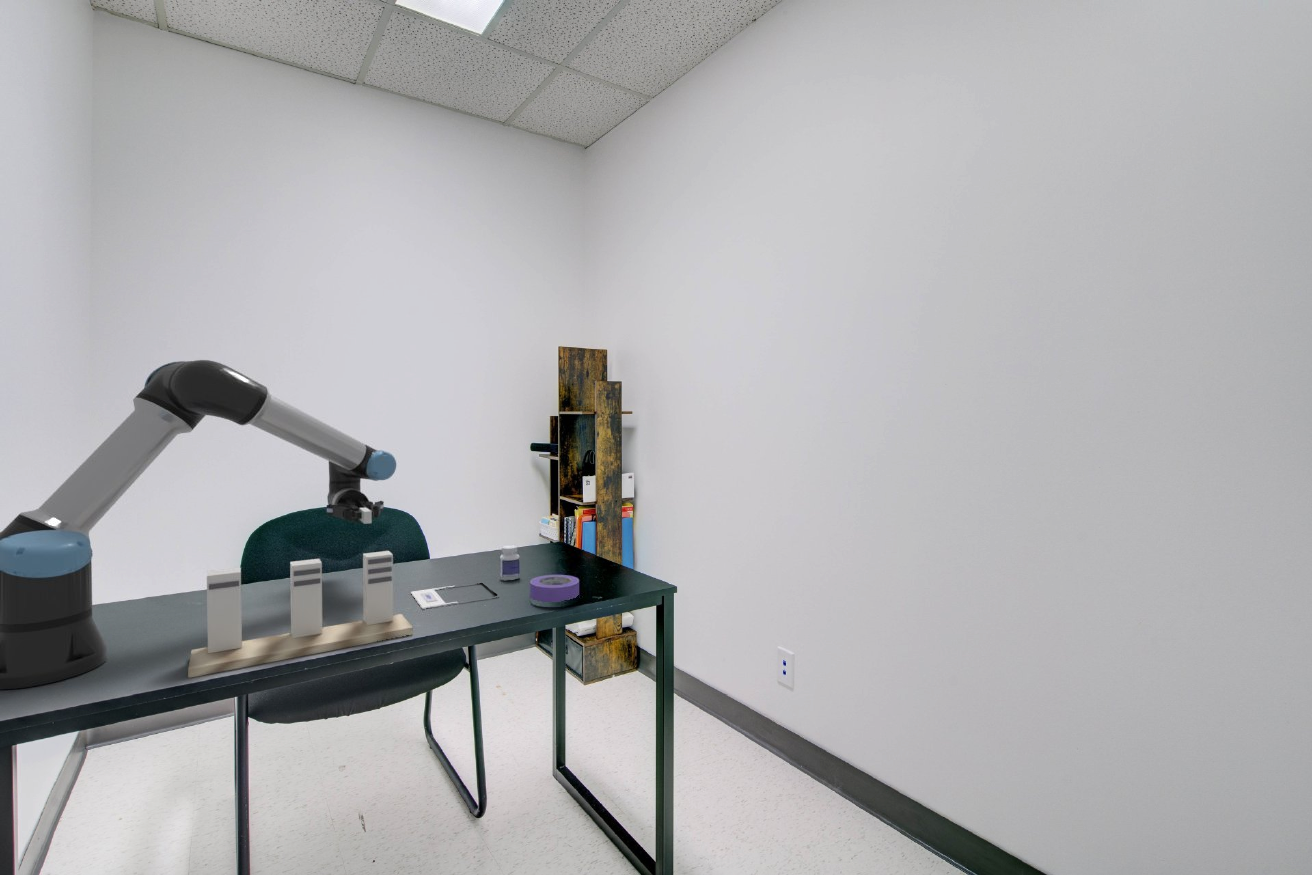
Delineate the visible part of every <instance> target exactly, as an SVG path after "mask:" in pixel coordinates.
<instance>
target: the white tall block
mask: <svg viewBox="0 0 1312 875" xmlns="http://www.w3.org/2000/svg"><path fill="white" fill-rule="evenodd" d="M289 564H290V565H289V568H290V569H289V571H290V575H289V577H290V580H289V581H290V633H291V634H292V638H299V637H305V636H310V635H316V634H322V627H323V573H322V572H323V569H322V568H323V563H322V561H321V558H314V559H313V558H311V559H304V560H295V561H290V562H289Z"/></svg>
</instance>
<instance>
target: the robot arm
mask: <svg viewBox="0 0 1312 875" xmlns="http://www.w3.org/2000/svg"><path fill="white" fill-rule="evenodd" d="M143 386H144V388H142V389H141V391H140V392H139V393H138V394H136V396H135V397H134V398H133V399H132V402H133V406H134V410H133V411H132V412H131V413H130V415H128V417H126V418H125V420H124V421H122V422H121V423H120V425H118V426H117V428H115V429H114V430H113V431H112V432H111V434H110V435H109V436H108V437H107V438H106V439H104V441H103V442H102V443H101V444H100V445H99V446H98V447H97V448H96V449H95V450H94V451H93V452H92V453H91V455H89V457H87V458H86V459H85V460H84V462H82V464H81V465H79V466H78V467H77V468H76V470H75V471H73V473H72V474H71V475H70V476H69V477H68V478H67V479H66V480H65V481H63V483H62V484H60V486H59V487H58V488H57V489H56V490H55V491H54V492H53V493H52V494H51V495H50V496H49V497H48V498H46V500H45V501H44V503H42V504H41V505H40V506H39V507H38V508H36V509H34V510H29V511H24V512H20V513H19V514H18V515H16V517H15V518H14V519H13V520H12V521H11V522H9V524H8V525H7V526H6V527H5V528H4V529H3V530H2V531H0V690H13V689H23V688H29V687H35V686H36V687H37V686H42V685H46V684H51V683H54V682H59V681H62V680H66V679H69V678H72V677H75V676H79V675H82V674H85V673H87V672H90V671H92V670H94V669H96V668H99V667H100V666H101V665H102V664H104V663H105V662H106V661H107V659H108V657H107V656H108V655H107V654H108V653H107V652H108V651H107V648H108V647H107V645H106V644H107V643H106V642H105V641H104V638H103V637H102V635H101V632H100V630H99V629H98V627H97V625H96V622H95V621H94V617H93V577H92V573H93V572H92V558H93V549H92V546H91V539H90V532H91V531H92V529H93V528H94V527H95V525H96V524H98V522H99V521H100V520H101V519H102V518H103V517H104V516H105V515H106V514H107V513H108V512H109V510H110V509H111V508H112V507H113V506H114V505H115V504H116V503H117V501H119V499H121V498H122V496H123V495H124V494H125V493H126V492H127V490H128V489H129V488H130V487H131V486H132V485H133V484H134V483H135V482H136V481H137V480H138V479H139V477H140V476H141V475H142V474H143V473H144V472H145V471H146V469H148V468H149V466H150V465H151V464H152V463H153V462H154V461H155V460H156V459H157V458H158V457H159V455H160V454H161V453H163V451H164V450H165V449H166V448H167V447H168V445H169V444H170V443H172V441H174V439H175V438H176V436H178V435H180V434H188V433H191V432H192V431H193V430H194V429H195V428H196V427H197V425H198V424H199V423H200V422H201V421H202V420H203V419H204V418H205V417H206V416H210V417H217V418H221V419H224V420H229V421H231V422H233V423H235V424H238V426H246V425H251V426H253V427H255V428H257V429H260V430H261V431H264V432H266V433H268V434H271V435H273V436H275V437H277V438H279V439H281V440H283V441H285V442H288V443H290V444H291V445H294V446H296V447H297V448H300V449H303V450H305V451H307V452H308V453H311V454H313V455H315V456H318V457H320V458H322V459H324V460H326V461H328V473H329V474H328V479H329V480H328V494H327V495H326V496H327V504H326V516H327V517H329V516H330V517H331V516H332V517H335V518H339V519H342V520H345V521H348V522H349V521H351V522H353V523H360V522H361V523H363V524H364V525H365V524H373V523H372V522H373V521H372V520H373V519H374V518H379V517H380V515H381V513H382V512H384V509H385V508H384V507H385V506H384V500H379V501H374V502H373V501H370V500H369V498H368V497H367V496H366V494H364V493H363V492H362V491H361V482H362V481H361V479H363V480H371V481H373V482H374V481H375V482H376V481H377V482H378V481H386V480H389V479H391V477H392V476H393V475H394V474H395V471H396V470H397V461H396V460H397V459H396V458H395V456H394V455H393V454H392V453H391V452H389V451H385V450H382V449H381V450H379V449H375V448H373V447H371V446H369V445H367V444H365V443H364V442H361V441H359V440H357V439H355V438H354V437H352V436H350V435H348V434H346V433H344V432H342V431H340V430H339V429H337V428H335V427H333V426H331V425H329V424H327V423H326V422H323V421H322V420H319V419H318V418H316V417H314V416H312V415H310V414H308V413H306V412H304V411H302V410H301V409H298V408H296V407H295V406H293V405H291V404H289V403H287V402H285V401H283V400H282V399H279V398H278V397H277V396H274V395H272V394H270V391H269V388H268V387H267V386H265V385H263V384H261V383H260V382H258V381H256V380H254V379H252V378H250V377H248V376H246V375H245V374H243V373H241V372H239V371H237V370H235V369H233V368H231V367H230V366H228V365H226V364H222V363H221V362H217V361H213V360H211V359H210V360H209V359H198V360H197V359H196V360H188V361H187V360H185V361H184V360H182V361H181V360H180V361H173V362H168V363H166V364H164V365H160V366H159V367H158V368H156V369H155V370H153V371H152V372H151V373H150V374H149V375H148V377H147V378H146V380H145V382H144V385H143Z"/></svg>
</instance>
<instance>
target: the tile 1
mask: <svg viewBox="0 0 1312 875" xmlns="http://www.w3.org/2000/svg"><path fill="white" fill-rule="evenodd" d="M241 570H242V567H234V568H232V567H231V568H224V569H217V570H208V571H207V572H206V605H207V606H206V607H207V608H206V610H207V611H206V614H207V615H206V616H207V617H206V618H207V619H206V620H207V623H206V624H207V647H208V653H214V652H220V651H225V650H231V649H237V648H242V641H243V637H242V636H243V633H242V628H243V626H242V624H243V623H242V622H243V621H242V571H241Z"/></svg>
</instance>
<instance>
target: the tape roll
mask: <svg viewBox="0 0 1312 875" xmlns="http://www.w3.org/2000/svg"><path fill="white" fill-rule="evenodd" d="M578 595H579V596H580V579H579V578H578V577H576V576H573V575H565V574H548V575H547V574H546V575H541V576H540V575H539V576H537V577H534V578H532V579H530V582H529V599H530V598H532V599H533V600H537V601H542V602H561V601H564V600H570V599H573V598H576V597H577V596H578Z"/></svg>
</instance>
